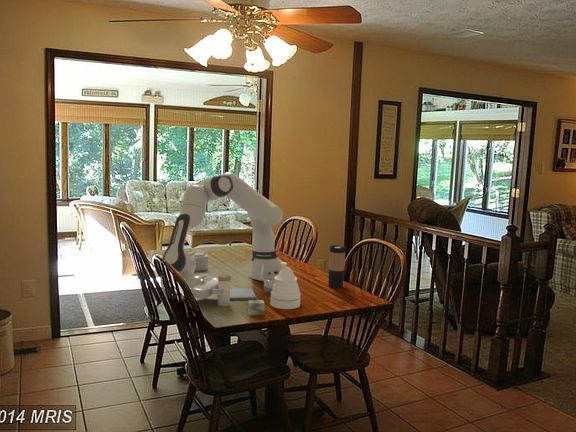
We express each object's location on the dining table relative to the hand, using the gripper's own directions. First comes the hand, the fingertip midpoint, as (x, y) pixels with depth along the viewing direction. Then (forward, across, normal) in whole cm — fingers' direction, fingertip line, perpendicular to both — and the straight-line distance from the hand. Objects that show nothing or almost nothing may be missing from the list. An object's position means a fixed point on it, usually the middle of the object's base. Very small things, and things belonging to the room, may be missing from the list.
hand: (226, 289), depth 215 cm
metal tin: (+12, +25, +7) cm, 28 cm away
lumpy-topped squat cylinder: (-41, +54, +7) cm, 68 cm away
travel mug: (+38, +48, +7) cm, 62 cm away
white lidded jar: (-1, 0, +6) cm, 7 cm away
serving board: (-1, +14, +6) cm, 16 cm away
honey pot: (+23, +11, +7) cm, 26 cm away
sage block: (+16, -6, +7) cm, 18 cm away
